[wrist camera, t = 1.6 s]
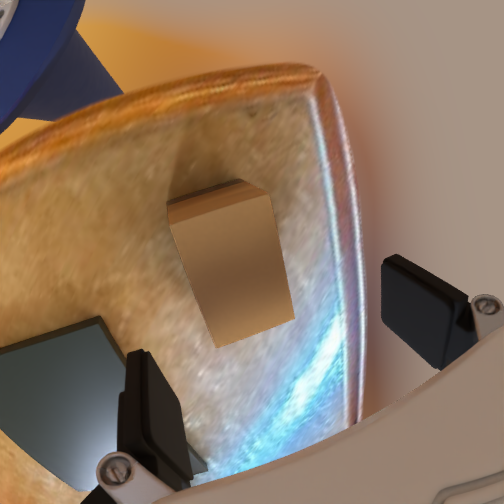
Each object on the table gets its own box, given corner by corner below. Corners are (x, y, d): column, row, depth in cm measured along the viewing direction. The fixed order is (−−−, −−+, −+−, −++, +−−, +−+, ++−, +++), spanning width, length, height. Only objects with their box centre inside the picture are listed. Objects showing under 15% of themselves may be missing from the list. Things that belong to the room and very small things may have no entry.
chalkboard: (-48, 363, 15) (-51, 370, 14) (100, 315, 18) (98, 323, 17) (78, 485, 24) (78, 491, 23) (206, 464, 27) (208, 471, 26)
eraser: (166, 201, 17) (168, 225, 12) (240, 178, 18) (269, 192, 13) (201, 301, 20) (216, 349, 15) (264, 279, 20) (295, 318, 16)
